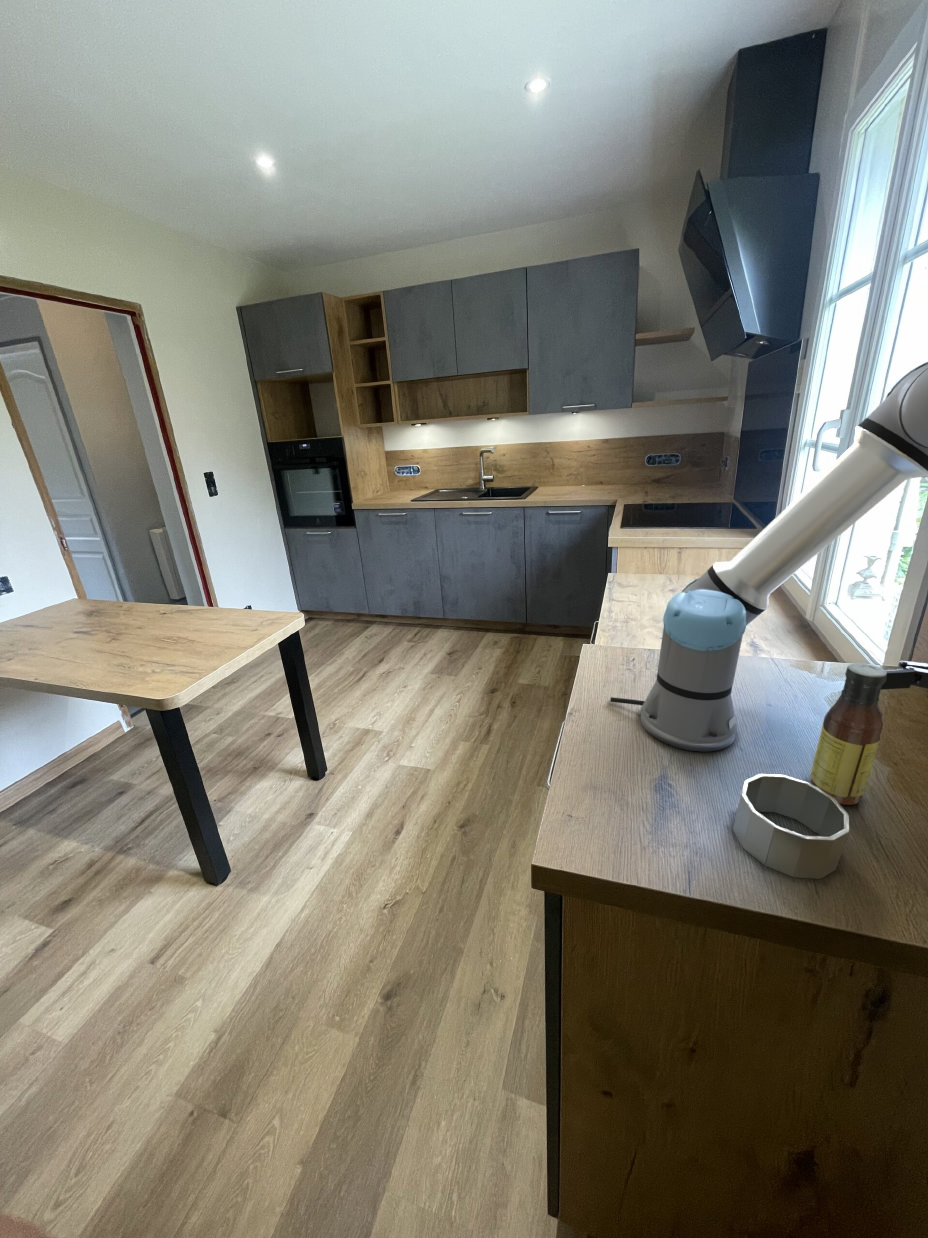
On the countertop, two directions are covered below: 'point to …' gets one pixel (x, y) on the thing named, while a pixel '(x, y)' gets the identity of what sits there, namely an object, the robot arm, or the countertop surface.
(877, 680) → the sauce bottle
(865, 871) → the countertop surface
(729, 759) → the countertop surface
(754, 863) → the countertop surface
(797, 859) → the tin
